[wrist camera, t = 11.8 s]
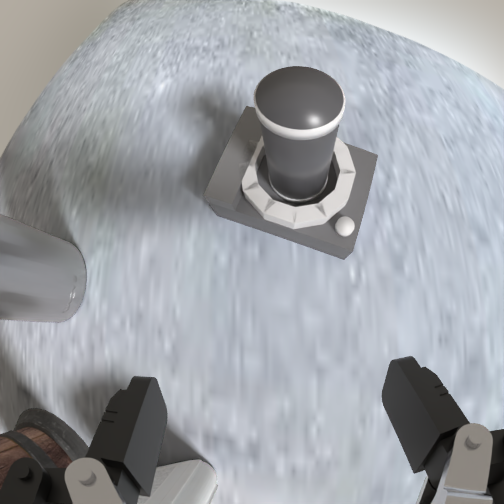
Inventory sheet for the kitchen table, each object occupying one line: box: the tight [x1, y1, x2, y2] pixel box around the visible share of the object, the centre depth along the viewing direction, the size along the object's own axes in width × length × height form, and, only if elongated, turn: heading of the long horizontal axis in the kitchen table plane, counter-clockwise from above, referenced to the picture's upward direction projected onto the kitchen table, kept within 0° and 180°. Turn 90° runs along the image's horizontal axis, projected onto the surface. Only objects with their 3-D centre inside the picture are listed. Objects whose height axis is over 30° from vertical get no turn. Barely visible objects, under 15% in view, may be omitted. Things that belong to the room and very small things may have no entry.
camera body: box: [203, 106, 378, 260], centre depth 25 cm, size 12×9×5 cm
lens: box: [254, 66, 345, 203], centre depth 19 cm, size 5×5×10 cm
